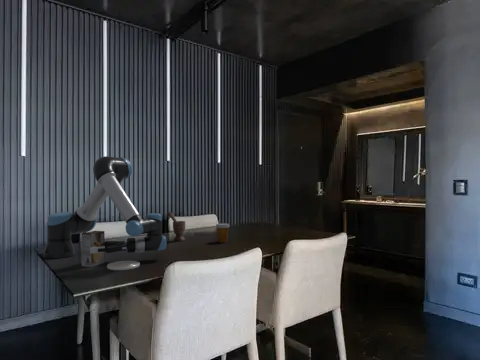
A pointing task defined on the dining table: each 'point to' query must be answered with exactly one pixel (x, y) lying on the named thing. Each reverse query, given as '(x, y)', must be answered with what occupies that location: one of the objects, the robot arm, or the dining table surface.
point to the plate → (123, 265)
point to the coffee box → (92, 241)
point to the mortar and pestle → (178, 228)
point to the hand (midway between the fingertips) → (90, 247)
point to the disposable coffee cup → (222, 232)
